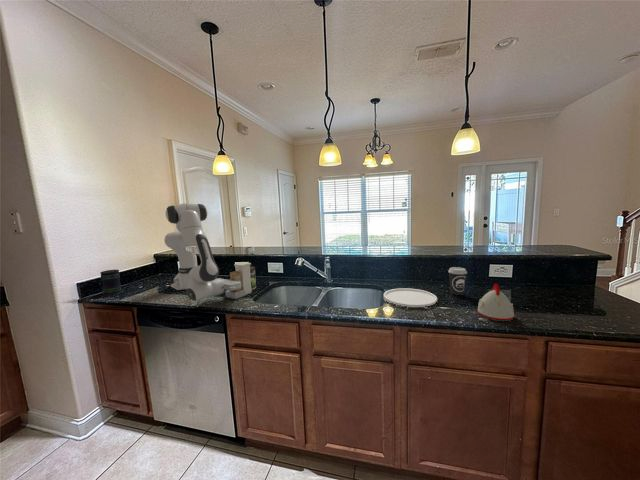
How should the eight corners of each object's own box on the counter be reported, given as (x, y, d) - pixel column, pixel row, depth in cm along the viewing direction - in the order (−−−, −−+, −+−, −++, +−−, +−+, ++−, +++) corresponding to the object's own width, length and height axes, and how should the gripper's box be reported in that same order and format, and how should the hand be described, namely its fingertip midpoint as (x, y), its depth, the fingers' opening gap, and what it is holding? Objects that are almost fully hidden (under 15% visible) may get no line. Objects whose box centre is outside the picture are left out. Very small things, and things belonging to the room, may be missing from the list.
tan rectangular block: (230, 292, 160) (229, 272, 158) (236, 290, 163) (235, 271, 162) (235, 293, 157) (234, 273, 156) (241, 291, 161) (240, 271, 160)
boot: (225, 297, 160) (223, 266, 157) (244, 290, 172) (242, 261, 169) (235, 299, 155) (233, 267, 153) (253, 292, 167) (252, 263, 165)
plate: (398, 312, 129) (398, 307, 129) (375, 294, 157) (375, 290, 156) (449, 306, 135) (449, 301, 135) (418, 290, 162) (418, 286, 162)
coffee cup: (468, 293, 152) (469, 268, 150) (463, 298, 145) (464, 271, 143) (450, 290, 158) (451, 266, 157) (445, 294, 151) (445, 269, 150)
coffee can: (258, 286, 180) (257, 266, 179) (252, 290, 170) (250, 269, 169) (244, 285, 183) (243, 265, 181) (237, 290, 173) (235, 269, 171)
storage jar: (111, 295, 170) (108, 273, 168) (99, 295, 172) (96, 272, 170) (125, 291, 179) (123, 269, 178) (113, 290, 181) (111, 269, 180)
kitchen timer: (480, 319, 117) (481, 287, 115) (474, 308, 130) (475, 279, 128) (518, 323, 112) (520, 289, 110) (508, 311, 125) (510, 281, 123)
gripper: (228, 283, 143) (248, 277, 155) (205, 279, 154) (225, 274, 166) (229, 294, 144) (248, 288, 155) (206, 289, 155) (226, 283, 166)
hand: (236, 280), depth 161 cm, fingers closed on tan rectangular block, 4 cm apart
